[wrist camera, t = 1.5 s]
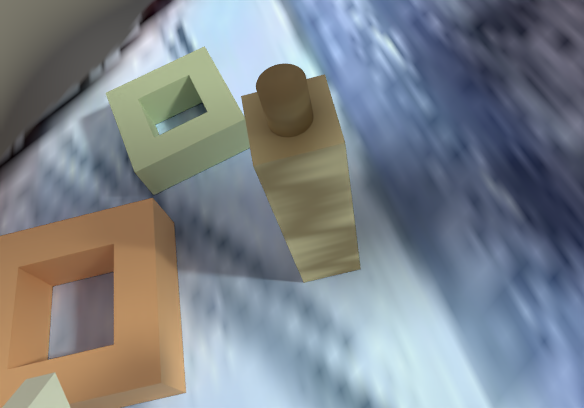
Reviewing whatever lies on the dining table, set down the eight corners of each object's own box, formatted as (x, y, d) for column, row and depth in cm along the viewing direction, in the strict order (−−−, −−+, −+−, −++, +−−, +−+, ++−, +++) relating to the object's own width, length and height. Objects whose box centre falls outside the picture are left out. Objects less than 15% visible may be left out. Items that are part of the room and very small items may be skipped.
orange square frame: (174, 222, 33) (152, 197, 30) (185, 392, 27) (161, 382, 24) (20, 260, 34) (-16, 239, 31) (2, 434, 28) (-45, 429, 25)
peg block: (346, 218, 31) (319, 36, 18) (360, 269, 29) (340, 107, 16) (293, 231, 31) (227, 60, 18) (303, 282, 29) (239, 133, 16)
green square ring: (216, 74, 39) (204, 46, 36) (255, 144, 35) (245, 118, 32) (124, 118, 38) (105, 92, 36) (153, 195, 34) (134, 172, 32)
